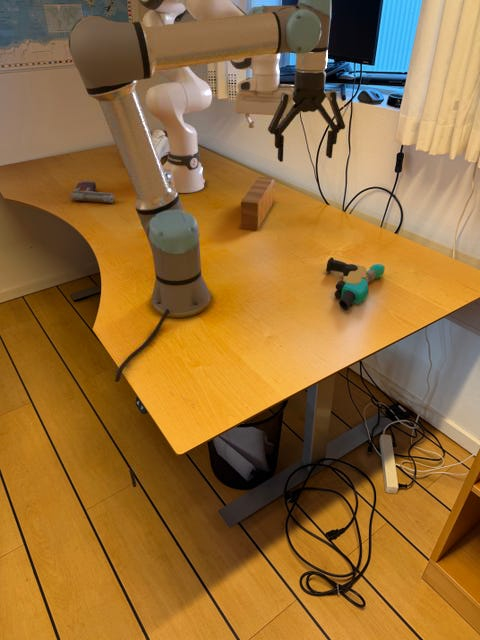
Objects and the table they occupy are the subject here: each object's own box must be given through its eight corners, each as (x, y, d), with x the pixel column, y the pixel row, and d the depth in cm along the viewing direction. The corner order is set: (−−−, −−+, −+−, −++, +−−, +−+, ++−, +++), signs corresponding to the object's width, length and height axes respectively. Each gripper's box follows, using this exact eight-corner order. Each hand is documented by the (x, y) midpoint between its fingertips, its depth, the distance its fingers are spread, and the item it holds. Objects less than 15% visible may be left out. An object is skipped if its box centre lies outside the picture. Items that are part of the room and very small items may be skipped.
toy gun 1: (126, 191, 190) (111, 206, 179) (83, 188, 193) (65, 202, 182) (125, 182, 188) (109, 196, 176) (81, 179, 191) (63, 193, 179)
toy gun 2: (304, 289, 121) (361, 305, 115) (336, 248, 139) (387, 259, 134) (302, 304, 124) (359, 320, 118) (334, 262, 142) (384, 273, 136)
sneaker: (130, 167, 214) (125, 139, 207) (157, 149, 236) (154, 123, 229) (151, 169, 212) (147, 141, 204) (176, 150, 234) (174, 125, 226)
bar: (257, 230, 161) (258, 203, 155) (241, 228, 162) (240, 201, 156) (273, 202, 180) (273, 178, 174) (258, 201, 181) (258, 176, 175)
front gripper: (353, 66, 120) (343, 151, 133) (257, 70, 117) (256, 157, 129) (365, 70, 114) (353, 159, 127) (264, 75, 111) (262, 166, 123)
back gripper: (299, 82, 153) (296, 127, 161) (238, 80, 157) (238, 124, 165) (295, 86, 148) (293, 132, 156) (232, 84, 152) (233, 129, 160)
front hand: (304, 158), depth 128 cm, fingers open, 13 cm apart
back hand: (264, 128), depth 161 cm, fingers open, 8 cm apart
